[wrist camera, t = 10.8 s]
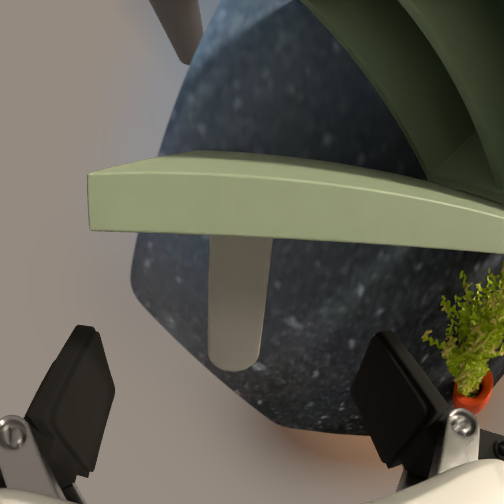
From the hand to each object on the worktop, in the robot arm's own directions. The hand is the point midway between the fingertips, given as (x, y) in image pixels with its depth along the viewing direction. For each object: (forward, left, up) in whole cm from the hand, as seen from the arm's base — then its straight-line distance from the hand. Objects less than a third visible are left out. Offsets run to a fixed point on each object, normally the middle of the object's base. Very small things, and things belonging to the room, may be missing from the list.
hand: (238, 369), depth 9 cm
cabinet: (-1, +30, -22) cm, 37 cm away
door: (+6, +9, -22) cm, 24 cm away
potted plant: (+48, +18, -22) cm, 55 cm away
